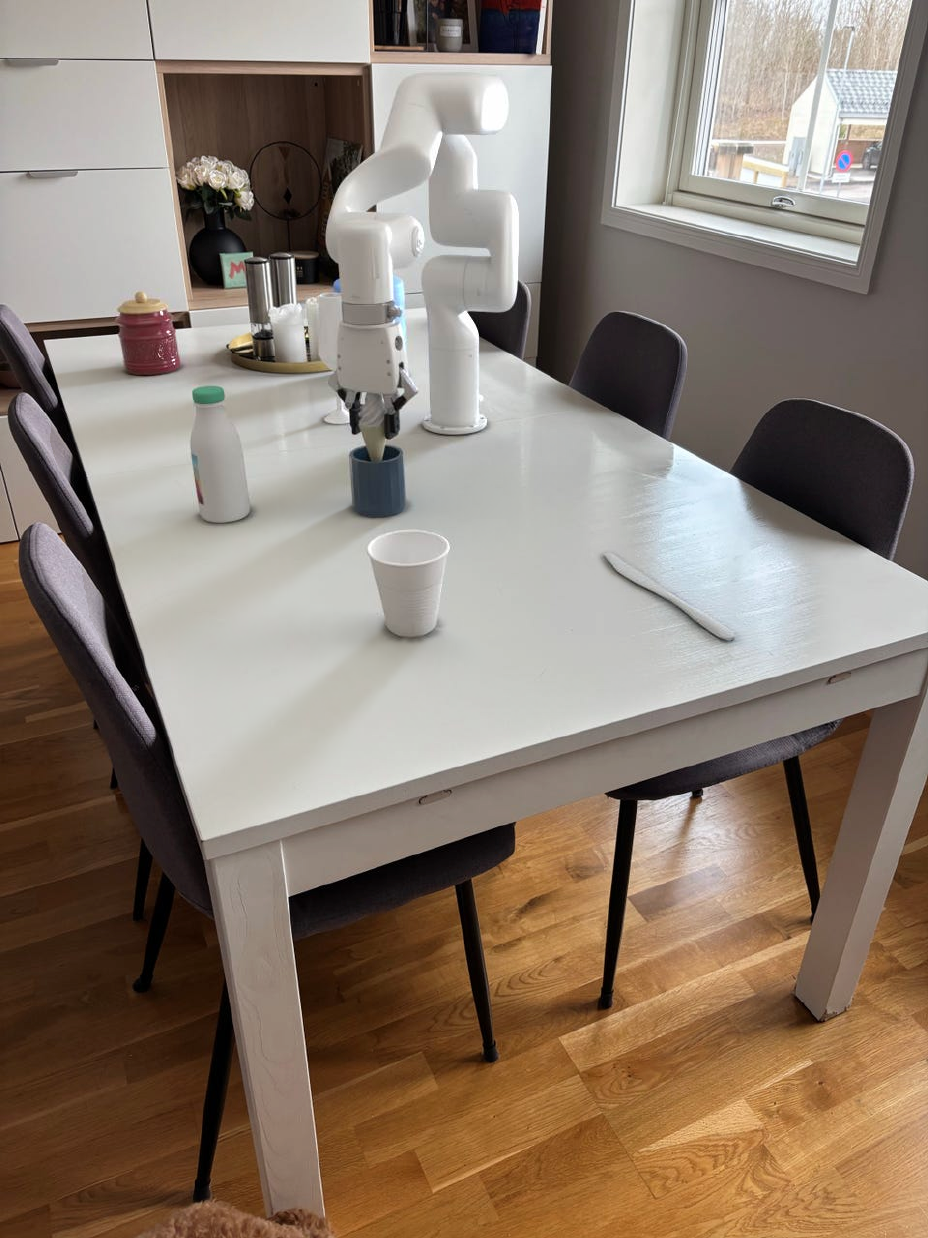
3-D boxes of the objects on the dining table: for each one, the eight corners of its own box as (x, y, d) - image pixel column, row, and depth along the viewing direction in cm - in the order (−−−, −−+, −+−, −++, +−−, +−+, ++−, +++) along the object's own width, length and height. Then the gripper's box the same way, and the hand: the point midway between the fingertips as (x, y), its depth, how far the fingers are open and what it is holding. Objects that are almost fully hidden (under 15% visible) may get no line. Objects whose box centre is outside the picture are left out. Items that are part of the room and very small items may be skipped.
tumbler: (369, 493, 157) (365, 441, 153) (414, 501, 154) (412, 448, 150) (343, 512, 150) (339, 458, 146) (390, 520, 147) (387, 465, 143)
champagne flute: (317, 421, 190) (306, 297, 178) (334, 411, 196) (324, 290, 184) (347, 425, 188) (338, 299, 176) (363, 415, 193) (355, 292, 182)
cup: (371, 609, 123) (366, 531, 117) (448, 605, 124) (446, 527, 118) (371, 649, 114) (366, 567, 109) (454, 644, 115) (452, 562, 109)
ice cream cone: (388, 479, 147) (383, 383, 139) (357, 477, 148) (350, 381, 140) (397, 468, 151) (392, 374, 144) (366, 466, 152) (360, 372, 144)
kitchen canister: (139, 360, 233) (125, 285, 224) (189, 362, 231) (178, 286, 223) (115, 375, 222) (100, 296, 213) (168, 376, 220) (155, 297, 211)
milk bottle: (259, 507, 152) (244, 383, 142) (234, 526, 146) (216, 398, 136) (217, 502, 154) (199, 379, 145) (191, 520, 148) (170, 393, 138)
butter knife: (719, 640, 114) (739, 633, 115) (596, 555, 135) (613, 550, 136) (718, 644, 114) (738, 637, 115) (596, 559, 136) (613, 553, 137)
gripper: (432, 312, 137) (435, 434, 146) (330, 303, 143) (339, 420, 152) (409, 323, 131) (413, 449, 140) (303, 313, 137) (314, 435, 146)
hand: (375, 433), depth 146 cm, fingers closed on ice cream cone, 5 cm apart
